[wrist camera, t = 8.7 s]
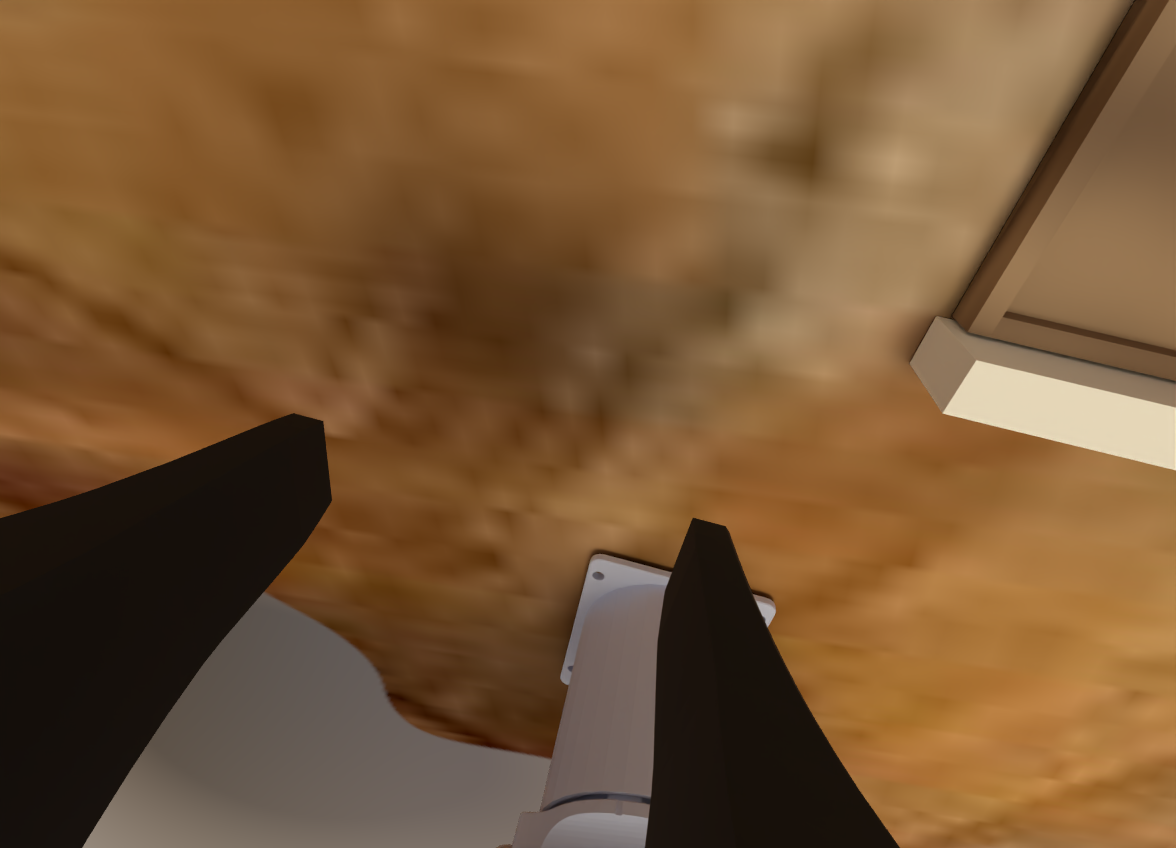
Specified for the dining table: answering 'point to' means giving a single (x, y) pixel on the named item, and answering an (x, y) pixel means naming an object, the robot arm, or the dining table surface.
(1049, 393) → the strip
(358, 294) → the dining table surface
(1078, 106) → the tray
